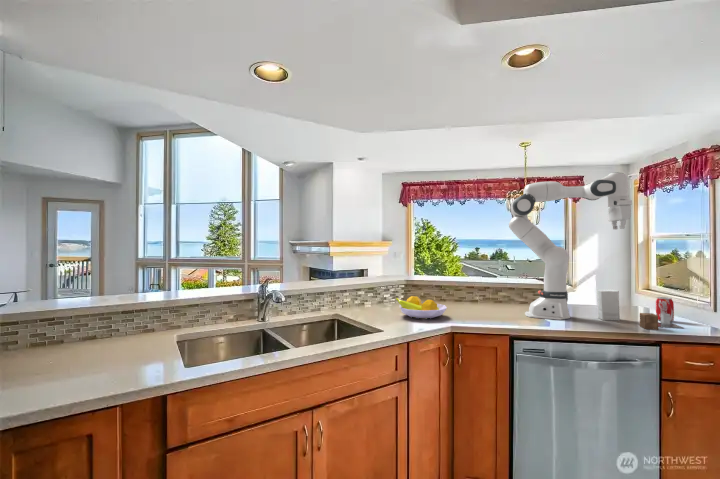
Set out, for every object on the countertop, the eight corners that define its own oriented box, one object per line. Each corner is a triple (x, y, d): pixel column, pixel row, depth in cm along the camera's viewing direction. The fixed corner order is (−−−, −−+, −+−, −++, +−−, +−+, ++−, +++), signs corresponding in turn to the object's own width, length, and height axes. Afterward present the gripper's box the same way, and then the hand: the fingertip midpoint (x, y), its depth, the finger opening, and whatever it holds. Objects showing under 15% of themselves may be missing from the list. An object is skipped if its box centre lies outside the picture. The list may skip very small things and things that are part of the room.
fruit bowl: (442, 312, 211) (442, 293, 211) (449, 322, 184) (449, 300, 184) (395, 311, 214) (395, 293, 214) (395, 321, 187) (395, 300, 187)
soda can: (677, 322, 178) (677, 299, 178) (661, 322, 179) (660, 298, 179) (668, 319, 185) (667, 296, 185) (652, 319, 186) (652, 296, 186)
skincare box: (615, 318, 189) (614, 289, 189) (620, 321, 182) (619, 291, 183) (597, 317, 191) (596, 289, 191) (601, 320, 185) (601, 290, 185)
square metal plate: (658, 327, 169) (658, 314, 169) (648, 322, 178) (648, 311, 178) (683, 328, 166) (683, 316, 166) (672, 323, 175) (672, 312, 175)
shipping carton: (644, 328, 166) (644, 314, 166) (639, 326, 171) (639, 312, 171) (658, 329, 164) (657, 315, 164) (652, 327, 169) (652, 313, 169)
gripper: (604, 205, 198) (604, 229, 198) (618, 201, 178) (619, 228, 178) (617, 204, 196) (617, 229, 196) (633, 200, 176) (634, 228, 176)
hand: (618, 229), depth 187 cm, fingers open, 8 cm apart
